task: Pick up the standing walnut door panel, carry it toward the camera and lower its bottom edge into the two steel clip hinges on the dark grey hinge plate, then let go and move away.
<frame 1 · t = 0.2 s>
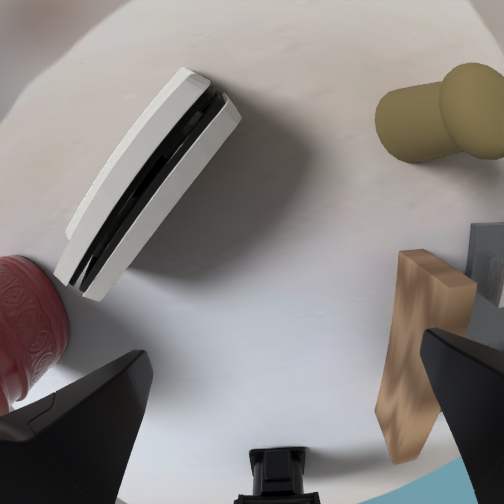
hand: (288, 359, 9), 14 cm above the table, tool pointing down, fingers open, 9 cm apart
hinge plate: (490, 323, 24), on the table
canister: (29, 307, 26), on the table
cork: (408, 125, 19), on the table
cabinet door: (399, 342, 25), on the table
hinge: (153, 178, 22), on the table
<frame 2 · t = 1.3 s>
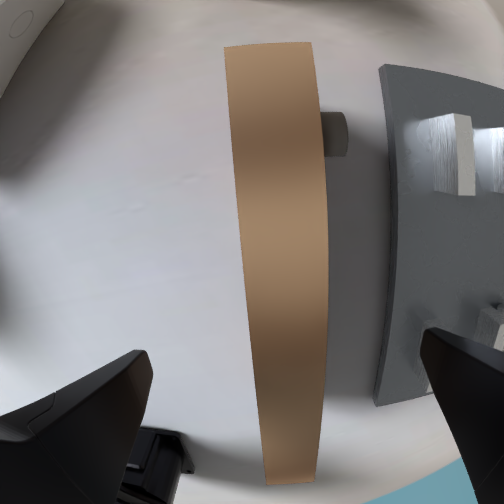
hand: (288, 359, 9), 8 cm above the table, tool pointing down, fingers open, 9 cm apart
hinge plate: (461, 251, 16), on the table
cabinet door: (279, 266, 17), on the table
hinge: (2, 85, 14), on the table
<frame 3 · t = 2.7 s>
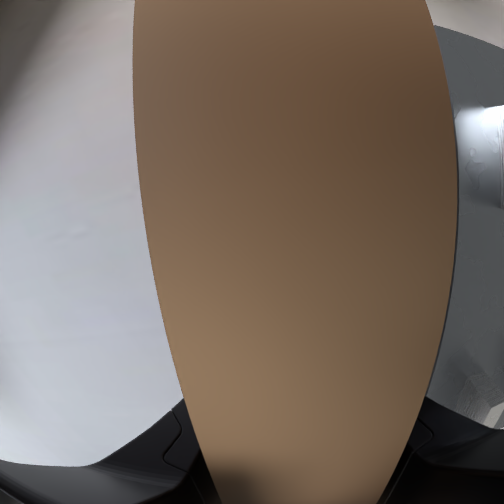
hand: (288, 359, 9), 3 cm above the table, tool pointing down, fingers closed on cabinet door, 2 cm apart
cabinet door: (284, 319, 11), on the table, touching gripper
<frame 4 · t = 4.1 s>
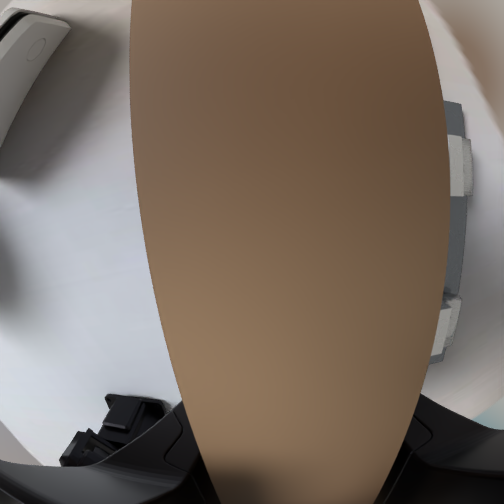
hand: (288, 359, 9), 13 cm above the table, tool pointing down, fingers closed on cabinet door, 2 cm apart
hinge plate: (402, 244, 20), on the table
cabinet door: (283, 318, 11), point 10 cm above the table, touching gripper
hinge: (19, 99, 18), on the table
when the fingers open (5 cm above the table, at t = 5.9 s): cabinet door stays where it is, resting on hinge plate.
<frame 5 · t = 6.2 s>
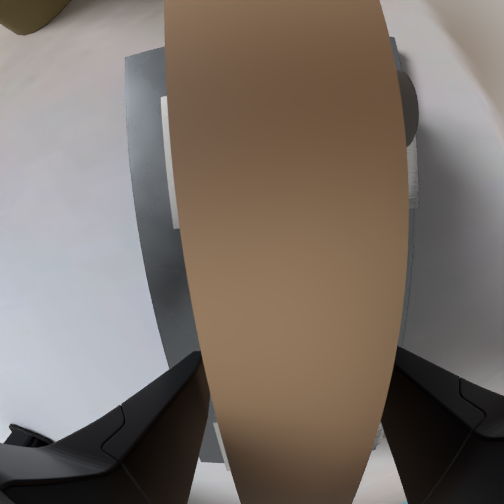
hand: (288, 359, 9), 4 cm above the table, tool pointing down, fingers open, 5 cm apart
hinge plate: (282, 298, 13), on the table
cabinet door: (283, 306, 12), point 1 cm above the table, touching hinge plate
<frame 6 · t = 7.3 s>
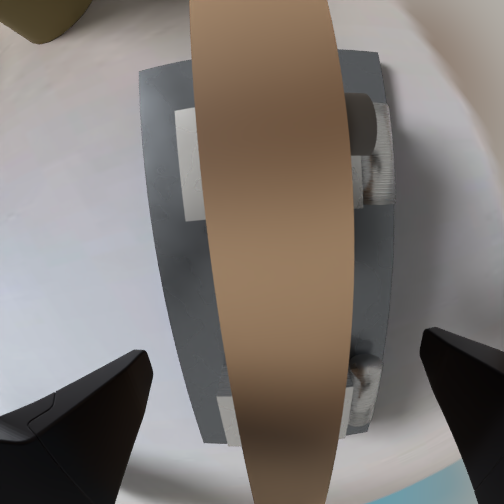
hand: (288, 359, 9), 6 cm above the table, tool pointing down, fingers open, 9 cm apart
hinge plate: (278, 284, 15), on the table
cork: (60, 6, 11), on the table
cabinet door: (278, 291, 14), point 1 cm above the table, touching hinge plate
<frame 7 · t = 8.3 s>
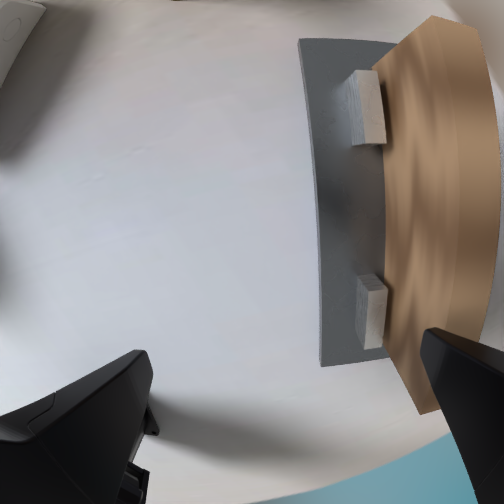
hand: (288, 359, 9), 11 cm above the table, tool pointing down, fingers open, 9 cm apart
hinge plate: (396, 207, 18), on the table
cabinet door: (402, 209, 17), point 1 cm above the table, touching hinge plate
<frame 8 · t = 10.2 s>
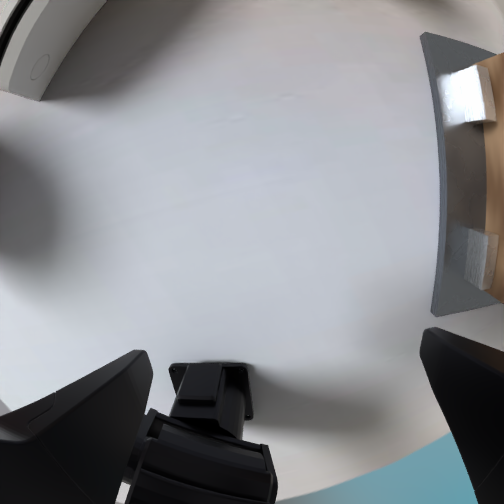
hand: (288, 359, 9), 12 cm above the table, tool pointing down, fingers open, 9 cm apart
hinge plate: (488, 176, 18), on the table
cabinet door: (496, 176, 17), point 1 cm above the table, touching hinge plate
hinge: (85, 18, 16), on the table
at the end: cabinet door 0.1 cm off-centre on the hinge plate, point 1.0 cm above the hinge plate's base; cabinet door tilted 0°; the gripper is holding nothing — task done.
